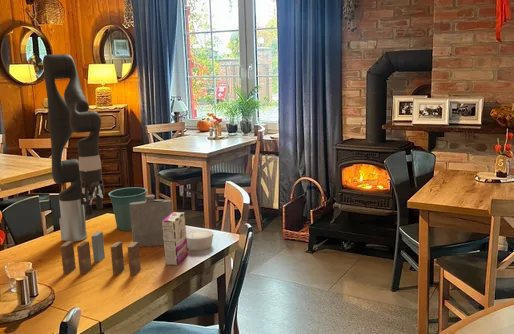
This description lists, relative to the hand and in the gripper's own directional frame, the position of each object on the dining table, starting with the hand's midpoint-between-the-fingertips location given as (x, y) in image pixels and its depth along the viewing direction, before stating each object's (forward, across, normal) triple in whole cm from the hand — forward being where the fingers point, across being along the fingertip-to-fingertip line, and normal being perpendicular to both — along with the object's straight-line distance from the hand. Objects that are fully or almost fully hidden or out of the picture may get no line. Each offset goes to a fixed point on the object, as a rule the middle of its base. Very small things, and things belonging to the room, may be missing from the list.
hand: (94, 211), depth 189 cm
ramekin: (+19, -15, +34) cm, 42 cm away
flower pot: (+18, -39, -3) cm, 43 cm away
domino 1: (+18, +11, -6) cm, 22 cm away
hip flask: (+18, -17, +15) cm, 29 cm away
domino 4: (+18, +11, +12) cm, 24 cm away
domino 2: (+18, +11, 0) cm, 21 cm away
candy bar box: (+19, -1, +29) cm, 34 cm away
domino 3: (+18, 0, 0) cm, 18 cm away
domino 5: (+18, +11, +18) cm, 28 cm away
